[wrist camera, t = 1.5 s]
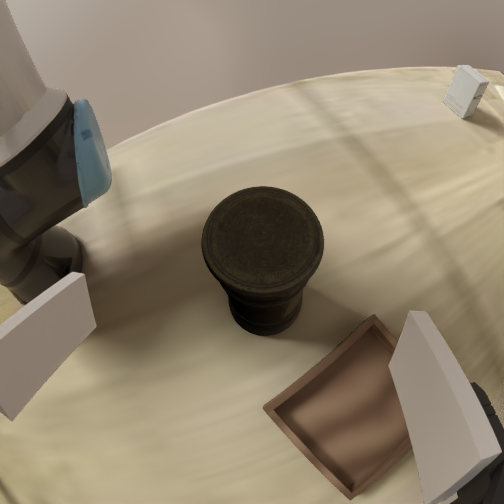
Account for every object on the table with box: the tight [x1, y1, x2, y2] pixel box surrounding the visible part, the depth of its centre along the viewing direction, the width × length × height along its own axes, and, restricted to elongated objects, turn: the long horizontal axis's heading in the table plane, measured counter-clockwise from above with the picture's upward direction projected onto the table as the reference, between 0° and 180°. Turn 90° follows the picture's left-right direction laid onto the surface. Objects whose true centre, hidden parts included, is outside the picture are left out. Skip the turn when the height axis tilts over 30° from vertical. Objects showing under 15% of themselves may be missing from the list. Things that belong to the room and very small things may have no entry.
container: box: [202, 186, 324, 336], centre depth 27 cm, size 9×9×18 cm
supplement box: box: [443, 65, 489, 119], centre depth 46 cm, size 7×7×13 cm
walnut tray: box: [263, 314, 412, 500], centre depth 28 cm, size 17×17×3 cm
